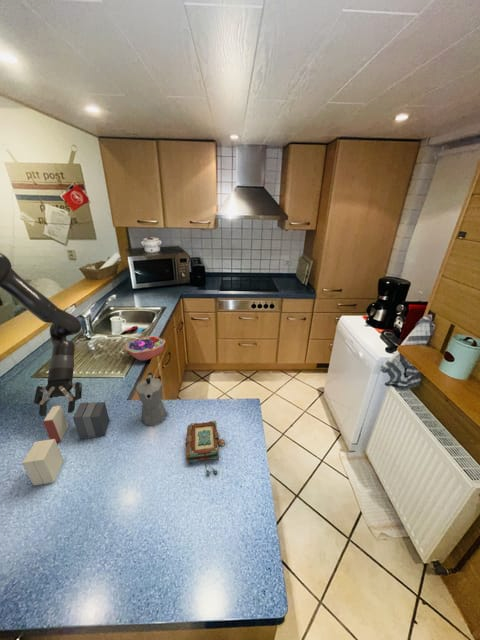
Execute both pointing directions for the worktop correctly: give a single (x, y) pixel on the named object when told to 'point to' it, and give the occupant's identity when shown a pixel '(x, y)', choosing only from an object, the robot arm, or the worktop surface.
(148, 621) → the worktop surface
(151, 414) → the coffeepot
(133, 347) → the cell model
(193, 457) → the decorative book
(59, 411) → the cream red flat block
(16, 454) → the worktop surface
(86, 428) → the dark grey striped block
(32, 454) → the cream box
